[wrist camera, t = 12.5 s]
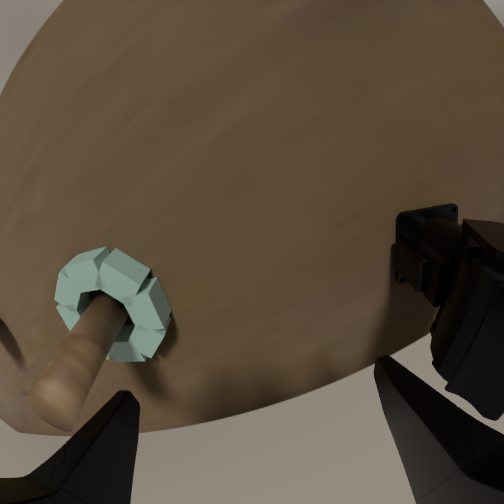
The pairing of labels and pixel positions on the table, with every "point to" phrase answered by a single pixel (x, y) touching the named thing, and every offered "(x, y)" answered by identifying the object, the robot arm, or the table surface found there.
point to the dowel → (77, 363)
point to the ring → (124, 290)
